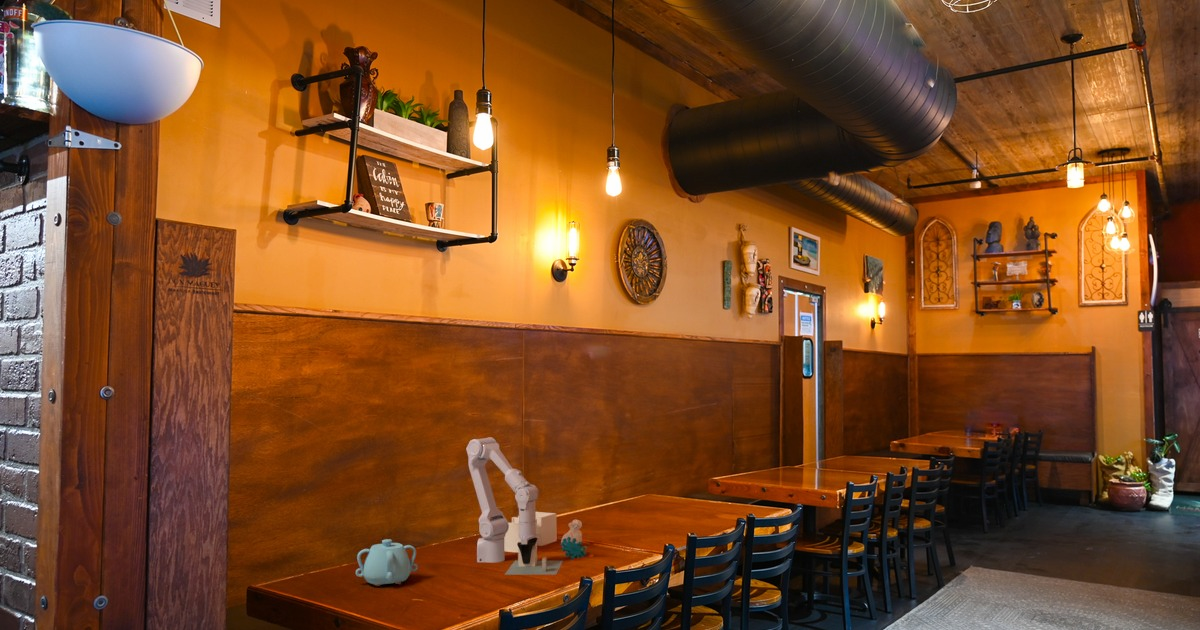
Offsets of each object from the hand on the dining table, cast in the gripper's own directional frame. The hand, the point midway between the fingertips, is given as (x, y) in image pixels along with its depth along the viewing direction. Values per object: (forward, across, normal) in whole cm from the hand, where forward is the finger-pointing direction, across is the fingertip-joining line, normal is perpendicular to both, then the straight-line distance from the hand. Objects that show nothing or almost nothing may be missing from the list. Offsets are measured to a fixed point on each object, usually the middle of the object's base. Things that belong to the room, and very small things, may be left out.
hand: (527, 561), depth 286 cm
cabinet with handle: (+1, 0, 0) cm, 1 cm away
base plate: (+2, -4, -3) cm, 5 cm away
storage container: (+3, +38, +6) cm, 38 cm away
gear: (+2, +13, -15) cm, 20 cm away
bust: (+2, +36, -12) cm, 38 cm away
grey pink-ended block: (+1, -9, -7) cm, 11 cm away
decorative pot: (+2, -19, +43) cm, 47 cm away
